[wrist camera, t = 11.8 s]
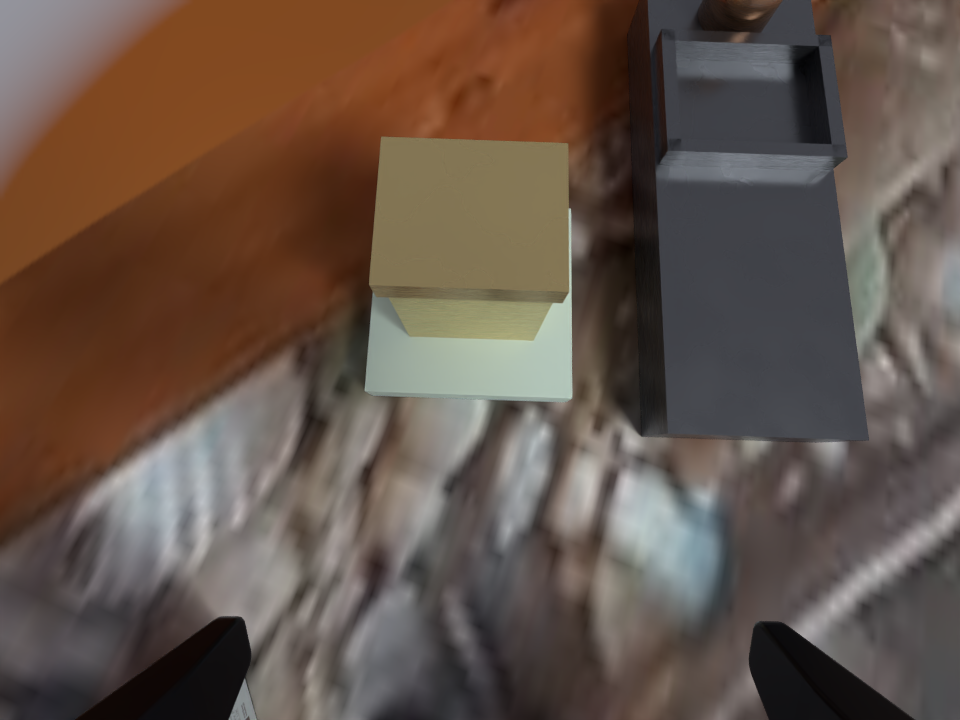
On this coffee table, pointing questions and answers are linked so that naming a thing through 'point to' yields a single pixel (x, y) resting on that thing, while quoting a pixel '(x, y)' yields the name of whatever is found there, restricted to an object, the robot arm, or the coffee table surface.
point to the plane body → (740, 225)
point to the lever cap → (471, 235)
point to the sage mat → (471, 360)
